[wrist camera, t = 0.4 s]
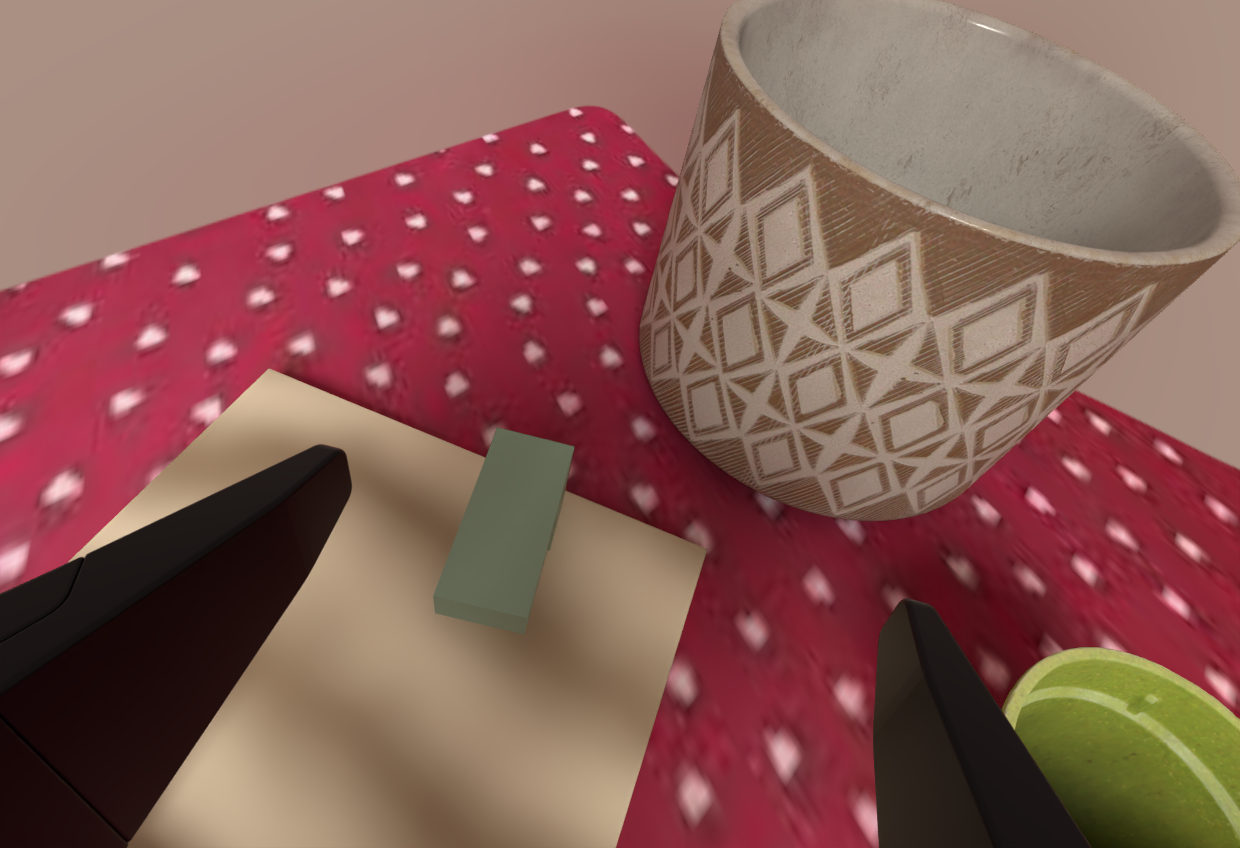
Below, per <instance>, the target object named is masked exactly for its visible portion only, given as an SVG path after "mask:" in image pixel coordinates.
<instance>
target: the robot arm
mask: <svg viewBox="0 0 1240 848" xmlns="http://www.w3.org/2000/svg"><path fill="white" fill-rule="evenodd" d="M351 492H352V480H351V475H350V470H349V465H348V460H347V455H346V453H345V452H344V450H342V449H340V448H336V447H332V446H329V445H325V444H318V445H315V446H313V447H310V448H308V449H306V450H304V451H302V452H300V453H298V454H296V455H294V456H292V457H289V458H287V459H285V460H283V461H281V462H279V463H277V464H275V465H273V466H271V467H268V468H266V469H264V470H262V471H260V472H258V473H256V474H254V475H252V476H249V477H247V478H245V479H243V480H241V481H239V482H237V483H235V484H233V485H231V486H228V487H226V488H224V489H222V490H220V491H218V492H216V493H214V494H212V495H210V496H207V497H205V498H203V499H201V500H199V501H197V502H195V503H193V504H191V505H189V506H186V507H184V508H182V509H180V510H178V511H176V512H174V513H172V514H170V515H168V516H165V517H163V518H161V519H159V520H157V521H155V522H153V523H151V524H149V525H146V526H144V527H142V528H140V529H138V530H136V531H134V532H132V533H130V534H128V535H125V536H123V537H121V538H119V539H117V540H115V541H113V542H111V543H109V544H107V545H104V546H102V547H100V548H98V549H96V550H94V551H92V552H90V553H88V554H86V556H85V558H84V557H79V558H77V559H75V560H73V561H70V562H68V563H66V564H64V565H62V566H60V567H58V568H56V569H54V570H51V571H49V572H47V573H45V574H43V575H41V576H38V577H36V578H34V579H32V580H30V581H27V582H25V583H23V584H21V585H19V586H16V587H14V588H12V589H10V590H7V591H5V592H3V593H0V848H127V847H128V842H130V841H131V840H132V839H133V837H134V836H135V834H136V833H137V831H138V830H139V828H140V827H141V825H142V824H143V822H144V821H145V819H146V818H147V816H148V815H149V813H150V812H151V810H152V809H153V807H154V806H155V804H156V803H157V801H158V800H159V798H160V797H161V795H162V794H163V793H164V791H165V790H166V788H167V787H168V785H169V784H170V782H171V781H172V779H173V778H174V776H175V775H176V773H177V772H178V770H179V769H180V767H181V766H182V764H183V763H184V761H185V760H186V758H187V757H188V755H189V754H190V752H191V751H192V749H193V748H194V746H195V745H196V743H197V742H198V740H199V739H200V737H201V736H202V734H203V733H204V731H205V730H206V728H207V727H208V725H209V724H210V722H211V721H212V720H213V718H214V717H215V715H216V714H217V712H218V711H219V709H220V708H221V706H222V705H223V703H224V702H225V700H226V699H227V697H228V696H229V694H230V693H231V691H232V690H233V688H234V687H235V685H236V684H237V682H238V681H239V679H240V678H241V676H242V675H243V673H244V672H245V670H246V669H247V667H248V666H249V664H250V663H251V661H252V660H253V658H254V657H255V655H256V654H257V652H258V651H259V650H260V648H261V647H262V645H263V644H264V642H265V641H266V639H267V638H268V636H269V635H270V633H271V632H272V630H273V629H274V627H275V626H276V624H277V623H278V621H279V620H280V618H281V617H282V615H283V614H284V612H285V611H286V609H287V608H288V606H289V605H290V603H291V602H292V600H293V599H294V597H295V596H296V594H297V593H298V591H299V590H300V588H301V587H302V585H303V584H304V582H305V581H306V579H307V577H308V576H309V574H310V572H311V570H312V569H313V567H314V565H315V563H316V561H317V559H318V557H319V556H320V554H321V552H322V550H323V548H324V546H325V544H326V542H327V540H328V538H329V536H330V534H331V533H332V531H333V529H334V527H335V525H336V523H337V521H338V519H339V517H340V515H341V513H342V511H343V510H344V508H345V506H346V504H347V502H348V500H349V498H350V495H351ZM873 753H874V770H875V787H876V804H877V821H878V838H879V848H1092V847H1091V846H1090V844H1089V843H1088V841H1087V839H1086V838H1085V836H1084V835H1083V833H1082V832H1081V830H1080V829H1079V827H1078V826H1077V824H1076V823H1075V821H1074V820H1073V818H1072V817H1071V815H1070V814H1069V812H1068V810H1067V809H1066V807H1065V806H1064V804H1063V803H1062V801H1061V800H1060V798H1059V797H1058V795H1057V794H1056V792H1055V791H1054V789H1053V788H1052V786H1051V785H1050V783H1049V782H1048V780H1047V778H1046V777H1045V775H1044V774H1043V772H1042V771H1041V769H1040V768H1039V766H1038V765H1037V763H1036V762H1035V760H1034V759H1033V757H1032V756H1031V754H1030V753H1029V751H1028V750H1027V748H1026V746H1025V745H1024V743H1023V742H1022V740H1021V739H1020V737H1019V736H1018V734H1017V733H1016V731H1015V730H1014V728H1013V727H1012V725H1011V724H1010V722H1009V721H1008V719H1007V717H1006V716H1005V714H1004V713H1003V711H1002V710H1001V708H1000V707H999V705H998V704H997V702H996V701H995V699H994V698H993V696H992V695H991V693H990V692H989V690H988V689H987V687H986V685H985V684H984V682H983V681H982V679H981V678H980V676H979V675H978V673H977V672H976V670H975V669H974V667H973V666H972V664H971V663H970V661H969V660H968V658H967V656H966V655H965V653H964V652H963V650H962V649H961V647H960V646H959V644H958V643H957V641H956V640H955V638H954V637H953V635H952V634H951V632H950V631H949V629H948V628H947V626H946V624H945V623H944V621H943V620H942V618H941V617H940V615H939V614H938V612H937V611H936V609H935V608H934V607H933V606H931V605H930V604H927V603H923V602H920V601H916V600H912V599H907V598H905V599H903V600H901V601H900V602H899V604H898V605H897V606H896V608H895V609H894V611H893V612H892V614H891V615H890V617H889V618H888V620H887V621H886V623H885V624H884V626H883V627H882V629H881V632H880V635H879V640H878V655H877V672H876V689H875V706H874V724H873Z"/></svg>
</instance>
